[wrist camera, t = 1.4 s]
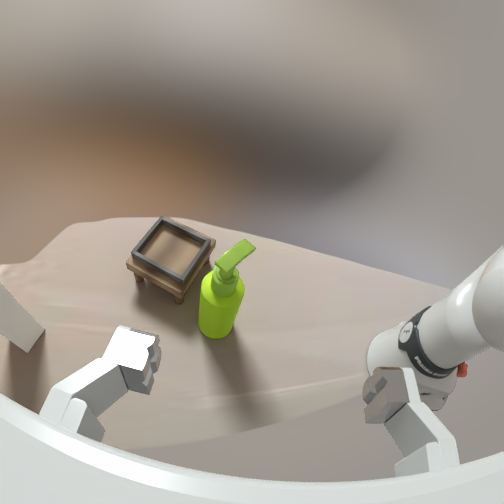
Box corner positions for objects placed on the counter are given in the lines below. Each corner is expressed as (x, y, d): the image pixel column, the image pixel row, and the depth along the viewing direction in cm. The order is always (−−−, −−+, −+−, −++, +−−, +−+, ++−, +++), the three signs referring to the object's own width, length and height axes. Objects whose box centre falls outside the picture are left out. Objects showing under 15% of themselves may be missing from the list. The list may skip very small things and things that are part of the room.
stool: (213, 258, 59) (216, 234, 53) (181, 308, 52) (180, 288, 46) (165, 235, 60) (164, 209, 54) (130, 279, 53) (124, 257, 47)
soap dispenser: (243, 319, 53) (269, 255, 37) (216, 346, 49) (230, 291, 33) (218, 297, 54) (233, 226, 38) (191, 322, 51) (193, 257, 35)
